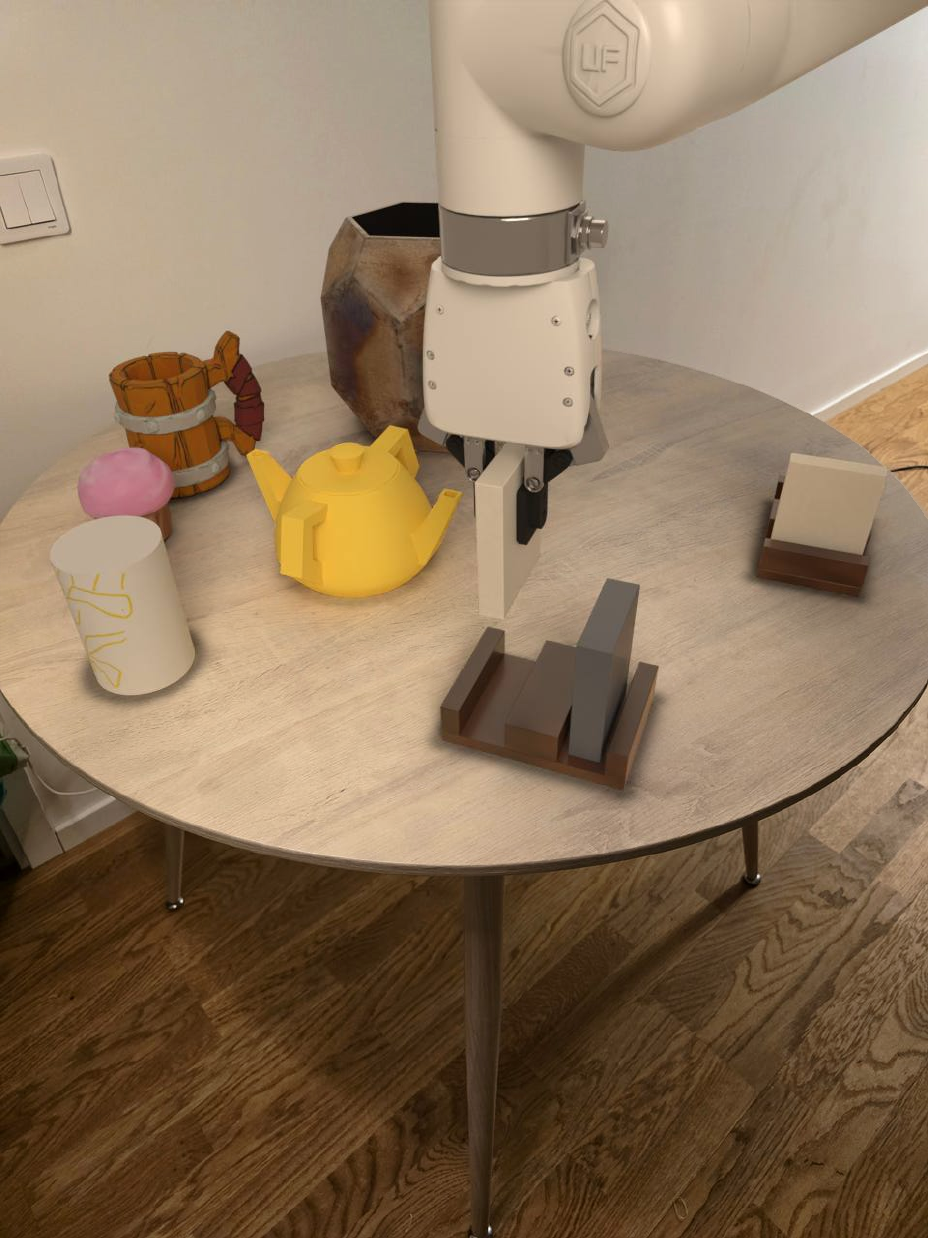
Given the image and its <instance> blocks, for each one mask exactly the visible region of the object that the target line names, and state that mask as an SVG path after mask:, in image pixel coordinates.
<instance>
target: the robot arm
mask: <svg viewBox="0 0 928 1238" xmlns="http://www.w3.org/2000/svg"><path fill="white" fill-rule="evenodd" d="M927 7H928V0H428V21H429V22H428V23H429V42H430V43H429V44H430V45H429V46H430V63H431V64H430V65H431V84H432V85H431V86H432V101H433V102H432V103H433V123H434V125H433V126H434V145H435V163H436V164H435V165H436V185H437V202H439V205H438V208H439V228H440V249H441V256H440V257H439V258H438V259H437V260H436V261H434V262H433V264H432V266H431V272H430V278H429V285H428V292H427V300H426V309H425V320H424V336H423V393H424V404H425V406H424V409H423V412H422V414H421V417H420V420H419V423H418V431H419V432H420V434H422V435H423V436H425V437H427V438H429V439H431V440H433V441H434V442H436V443H438V444H440V445H442V446H443V445H444V446H446V447H447V449H448V451H449V452H450V454H451V456H452V457H453V458H455V459H456V461H457V462H458V463H459V464H460V465H461V466H462V467H463V468H464V474H465V477H466V479H467V480H468V481H470V482H472V485H473V486H472V487H473V488H472V489H473V514H474V518H476V510H475V482H476V481H477V479H478V478H479V477H480V475H481V474H482V473H483V472H484V470H485V469H486V468H487V466H488V465H489V464H490V462H491V461H492V460H493V459H494V457H495V456H496V455H497V453H498V452H499V448H498V447H499V446H498V443H504V444H505V443H512V444H519V445H525V463H524V477H523V478H522V485H521V486H520V488H519V489H518V491H517V495H516V541H518V543H519V544H522V545H527V544H528V542H529V541H530V539H531V538H532V536H533V534H534V533H535V531H536V529H537V528H538V529H541V530H542V529H543V528H544V527H545V525H546V523H547V519H548V509H549V508H548V505H549V504H548V503H549V483H550V482H552V481H553V480H554V479H556V477H558V476H559V475H561V474H562V473H563V472H564V471H566V470H567V469H568V468H569V467H574V466H575V467H578V466H583V465H587V464H592V463H596V462H597V463H598V462H599V461H602V460H603V459H604V457H605V455H606V454H607V452H608V450H609V447H610V445H609V444H610V443H609V440H608V437H607V435H606V431H605V429H604V426H603V423H602V420H601V417H600V410H601V403H602V393H603V391H602V390H603V343H602V342H603V340H602V339H603V338H602V318H601V302H600V301H601V299H600V292H599V283H598V277H597V270H596V265H595V262H594V261H593V260H591V259H590V258H586V257H581V255H582V254H583V253H584V252H585V251H591V249H592V248H595V249H605V248H606V246H607V242H608V237H609V230H610V229H609V221H608V219H596V218H595V217H594V216H591V215H589V211H588V210H586V209H587V200H584V199H583V197H584V195H583V194H584V178H585V177H584V175H585V151H586V146H587V147H590V148H591V147H592V148H595V149H601V150H606V151H611V152H621V153H622V152H624V153H625V152H627V153H628V152H640V151H645V150H649V149H652V148H656V147H659V146H662V145H663V144H664V145H665V144H666V143H667V144H668V143H669V142H671V141H674V140H676V139H678V138H681V137H683V136H685V135H687V134H690V133H692V132H693V131H695V130H697V129H699V128H701V127H703V126H706V125H709V124H712V123H713V122H716V121H719V120H722V119H725V118H728V117H729V116H732V115H734V114H736V113H738V112H739V111H742V110H743V109H746V108H748V107H749V106H751V105H753V104H755V103H756V102H759V101H760V100H763V99H764V98H766V97H767V96H769V95H771V94H773V93H774V92H777V91H778V90H780V89H782V88H784V87H786V86H787V85H788V84H791V83H793V82H794V81H796V80H798V79H800V78H802V77H803V76H805V75H806V74H808V73H810V72H812V71H814V70H816V69H817V68H819V67H821V66H823V65H825V64H826V63H828V62H830V61H832V60H834V59H836V58H837V57H839V56H840V55H842V54H844V53H847V52H848V51H850V50H851V49H853V48H855V47H857V46H859V45H861V44H863V43H864V42H866V41H868V40H870V39H871V38H873V37H875V36H877V35H879V34H880V33H883V32H884V31H886V30H888V29H890V28H892V27H893V26H895V25H896V24H898V23H900V22H902V21H904V20H906V19H907V18H909V17H911V16H913V15H914V14H916V13H918V12H919V11H922V10H923V9H925V8H927Z"/></svg>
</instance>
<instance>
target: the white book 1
mask: <svg viewBox="0 0 928 1238" xmlns="http://www.w3.org/2000/svg"><path fill="white" fill-rule="evenodd" d="M524 463H525V445H519V444H512V443H505V442H504V444H503V445H502V446H501V448H500V449H499V450H498V453H497V455H496V456H495V457H494V459H493V460H492V461H491V462H490V464H489V465H488V466H487V468H486V469H485V470H484V472H483V473H482V474H481V475H480V477H479V478H478V479H477V481H476V482H475V510H476V517H475V532H476V533H475V537H476V539H475V540H476V565H477V566H476V569H477V600H478V615H479V616H482V617H486V618H491V619H495V620H496V619H497V620H501V621H504V620H505V619H506V617H507V615H508V613H509V612H510V610H511V609H512V607H513V604H515V601H516V600H517V598H518V596H519V595H520V593H521V591H522V589H523V588H524V586H525V584H526V582H527V580H528V579H529V577H530V576H531V574H532V572H533V570H534V569H535V566H536V565H537V563H538V562H539V560H540V558H541V554H542V553H541V552H542V551H541V549H542V529H538V528H537V529H536V531H535V533H534V534H533V536H532V538H531V539H530V541H529V542H528V544H527V545H522V544H519V543H518V541H516V495H517V491H518V489H519V488H520V486H521V485H522V478H523V477H524Z"/></svg>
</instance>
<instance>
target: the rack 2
mask: <svg viewBox="0 0 928 1238" xmlns="http://www.w3.org/2000/svg"><path fill="white" fill-rule="evenodd" d="M785 476H786V475H783V474H781V475H780V474H779V475H778V480H777V484H776V488H775V493H774V498H773V501H772V502H773V503H772V506H771V510H770V515H769V519H768V523H767V527H766V533H765V537H764V540H763V541H764V542H763V545H762V549H761V555H760V558H759V562H758V568H757V572H756V578H759V579H765V580H770V581H774V582H779V583H784V584H785V583H786V584H790V585H796V586H799V587H806V588H810V589H815V590H820V591H821V590H822V591H826V592H832V593H837V594H841V595H847V596H852V597H858V598H859V597H860V594H861V592H862V589H863V586H864V582H865V580H866V576H867V573H868V570H869V567H870V556H869V555H866V552H867V549H868V546H869V543H870V540H871V536H872V535H871V534H872V529H871V530H870V533H869V536H868V539H867V542H866V545H865V549H864V552H863V555H858V554H853V553H847V552H841V551H836V550H830V549H825V548H819V547H814V546H808V545H802V544H797V543H791V542H786V541H780V540H775V539H771V535H772V531H773V527H774V522H775V518H776V514H777V510H778V506H779V501H780V497H781V493H782V489H783V484H784V480H785Z"/></svg>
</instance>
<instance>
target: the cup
mask: <svg viewBox="0 0 928 1238" xmlns="http://www.w3.org/2000/svg"><path fill="white" fill-rule="evenodd" d="M49 560H50V563H51V565H52V568H53V571H54V573H55V576H56V578H57V581H58V583H59V586H60V588H61V591H62V593H63V596H64V599H65V601H66V604H67V606H68V609H69V612H70V614H71V617H72V619H73V622H74V625H75V627H76V629H77V632H78V635H79V638H80V640H81V642H82V646H83V648H84V650H85V653H86V655H87V658H88V661H89V663H90V665H91V668H92V671H93V673H94V676H95V679H96V681H97V683H98V684H99V685H100V687H101V688H103V689H104V690H106V691H107V692H110V693H112V694H115V695H120V696H121V695H122V696H140V695H147V694H151V693H154V692H158V691H160V690H163V689H165V688H167V687H170V686H171V685H173V684H174V683H176V682H178V681H179V680H180V679H181V678H183V677H184V676H185V675H186V674H187V673H188V672H189V671H190V669H191V667H192V666H193V664H194V662H195V658H196V650H195V646H194V643H193V638H192V636H191V633H190V629H189V626H188V622H187V618H186V615H185V611H184V607H183V604H182V600H181V597H180V593H179V590H178V587H177V583H176V580H175V576H174V573H173V569H172V565H171V562H170V558H169V555H168V551H167V548H166V544H165V540H163V537H162V533H161V530H160V528H159V527H158V525H157V524H155V523H154V522H153V521H151V520H149V519H146V518H143V517H138V516H128V515H121V516H110V517H104V518H99V519H92V520H88V521H87V522H84V523H81V524H79V525H76V526H75V527H72V528H70V529H69V530H67V531H66V532H64V533H63V534H62V535H61V536H60V537H58V538H57V539H56V540H55V542H54V543H53V544H52V546H51V547H50V550H49Z"/></svg>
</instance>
